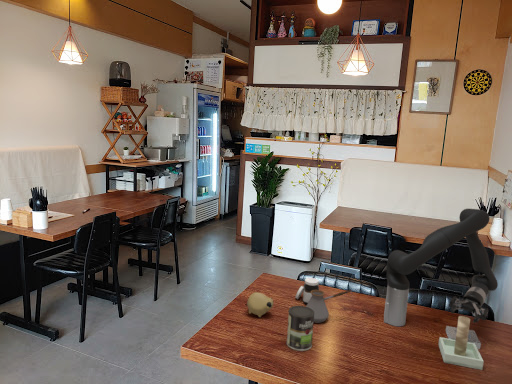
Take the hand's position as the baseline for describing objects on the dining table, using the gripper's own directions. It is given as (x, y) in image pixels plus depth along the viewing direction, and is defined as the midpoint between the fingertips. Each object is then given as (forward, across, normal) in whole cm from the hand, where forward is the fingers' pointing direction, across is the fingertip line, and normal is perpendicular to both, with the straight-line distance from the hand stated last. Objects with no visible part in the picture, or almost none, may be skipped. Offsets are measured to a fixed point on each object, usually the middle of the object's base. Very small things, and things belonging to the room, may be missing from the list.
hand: (463, 316), depth 158 cm
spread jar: (+19, -66, +16) cm, 70 cm away
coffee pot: (+28, -48, +12) cm, 57 cm away
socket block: (0, +2, +12) cm, 12 cm away
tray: (+14, +4, +8) cm, 17 cm away
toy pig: (+47, -72, +11) cm, 87 cm away
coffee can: (+53, -45, +7) cm, 70 cm away
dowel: (+14, +4, +8) cm, 17 cm away
